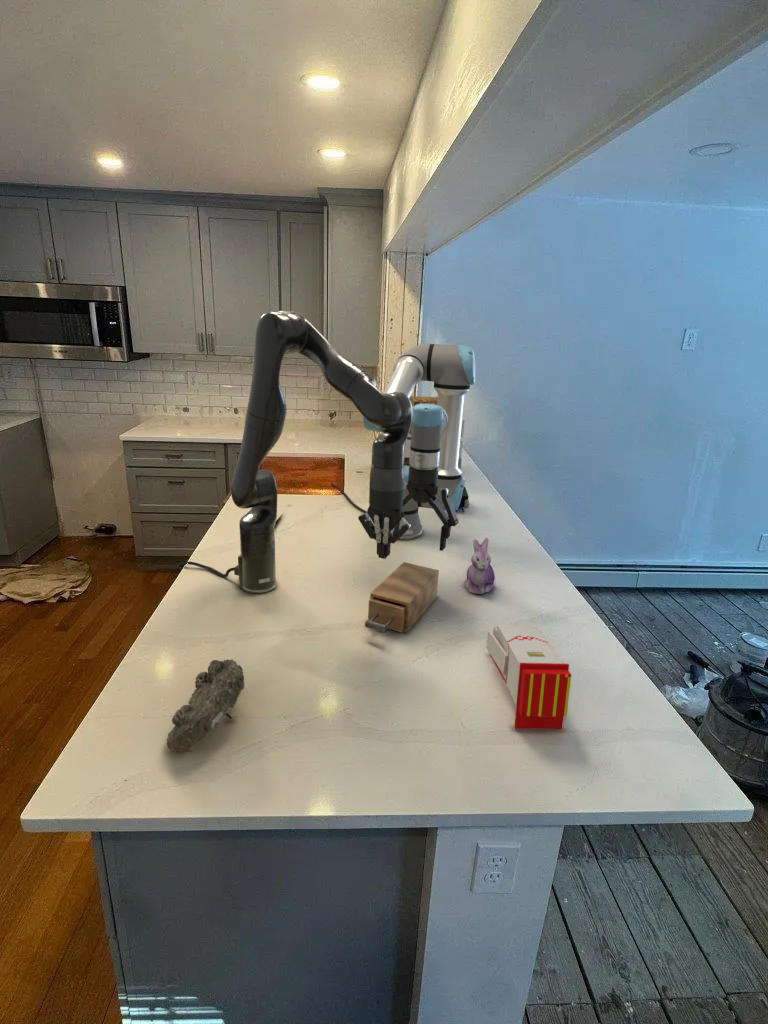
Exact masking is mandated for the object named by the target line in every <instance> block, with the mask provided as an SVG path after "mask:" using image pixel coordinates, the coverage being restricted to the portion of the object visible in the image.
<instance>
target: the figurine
mask: <svg viewBox="0 0 768 1024" xmlns="http://www.w3.org/2000/svg"><path fill="white" fill-rule="evenodd" d="M472 544H473V553H472V555H471V559H470V561H471V565H470V566H469V567H468V568H467V570H466V579H465V587H466V589H467V590H468V592H469V593H472V594H476V595H477V594H478V595H483V594H485V593H489V592H490V591H491V590H492V589H493V588H494V587H493V586H494V584H495V579H496V577H495V576H496V575H495V570H494V568H493V566H492V565H491V562H492V559H491V555H490V553H489V550H488V547H489V538H488V537H485V538H484V539H483V541H482V543H481V544H480V543H479V540H478V539H477V538H473V540H472Z"/></svg>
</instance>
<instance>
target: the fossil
mask: <svg viewBox="0 0 768 1024" xmlns="http://www.w3.org/2000/svg"><path fill="white" fill-rule="evenodd" d="M243 670H244V669H243V667H242V665H240V664H237V662H236V661H235V660H234V659H232V658H231V659H227V658H226V659H224V660H223V661H222V660H217V659H212V660H211V661H210V663H209V665H208V666H207V671H201V672H199V673H198V674H197V675H196V676H195V680H194V684H195V685H194V687H195V689H194V690H193V693H192V694H191V697H190V698H189V700H188V704H184V705H182V706H181V707H180V709H177V710H176V711H175V713H174V715H173V716H172V718H171V723H172V724H173V727H172V730H171V731H170V732H168V734H167V738H166V741H167V742H166V745H167V749H168V750H169V751H173V752H174V753H176V754H178V753H182V752H188V751H189V752H192V751H193V750H195V748H196V747H197V746H199V744H200V743H201V742H203V741H204V740H205V739H206V738H207V737H208V736H209V735H210V734H211V733H212V732H214V730H215V729H217V727H218V726H219V724H220V722H221V721H222V720H223V719H224V718H225V716H226V717H227V719H229V720H233V717H232V715H230V714H229V710H230V709H231V708H234V706H235V704H236V703H237V702H238V699H239V697H240V695H241V693H242V691H243V690H245V689H244V688H245V675H244V671H243Z"/></svg>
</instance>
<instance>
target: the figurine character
mask: <svg viewBox="0 0 768 1024" xmlns="http://www.w3.org/2000/svg"><path fill="white" fill-rule="evenodd" d="M469 498H470V496H469V494H468V491H467V488H466V486H464V489H463V493H462V497H461V501H460V505H459V507H458V509H457V510H455V512H456V513H458V510H461V511H462V513H465V509H469V506H470V500H469Z"/></svg>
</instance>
